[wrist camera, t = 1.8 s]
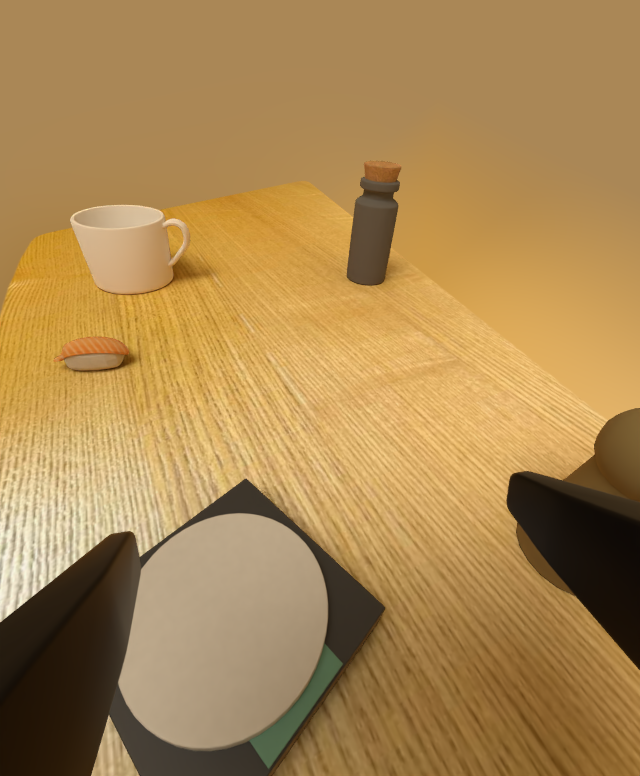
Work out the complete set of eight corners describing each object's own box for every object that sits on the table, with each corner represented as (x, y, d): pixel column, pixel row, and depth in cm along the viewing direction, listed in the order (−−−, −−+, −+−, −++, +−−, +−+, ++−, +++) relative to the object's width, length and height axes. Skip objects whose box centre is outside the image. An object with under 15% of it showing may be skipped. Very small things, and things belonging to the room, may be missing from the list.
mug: (78, 294, 45) (51, 226, 40) (110, 262, 53) (92, 202, 48) (188, 298, 46) (177, 233, 41) (204, 266, 54) (195, 208, 49)
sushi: (130, 370, 34) (121, 343, 33) (54, 377, 33) (40, 350, 31) (134, 354, 36) (125, 328, 34) (62, 360, 35) (49, 333, 33)
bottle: (341, 270, 57) (354, 158, 47) (376, 269, 58) (395, 160, 49) (352, 286, 53) (368, 167, 43) (390, 284, 54) (413, 169, 44)
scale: (378, 622, 20) (389, 601, 18) (202, 875, 13) (188, 886, 11) (248, 497, 25) (245, 470, 23) (76, 631, 18) (52, 609, 16)
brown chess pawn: (642, 583, 22) (809, 473, 15) (564, 611, 21) (712, 504, 14) (565, 499, 26) (668, 383, 19) (497, 517, 25) (582, 399, 18)
